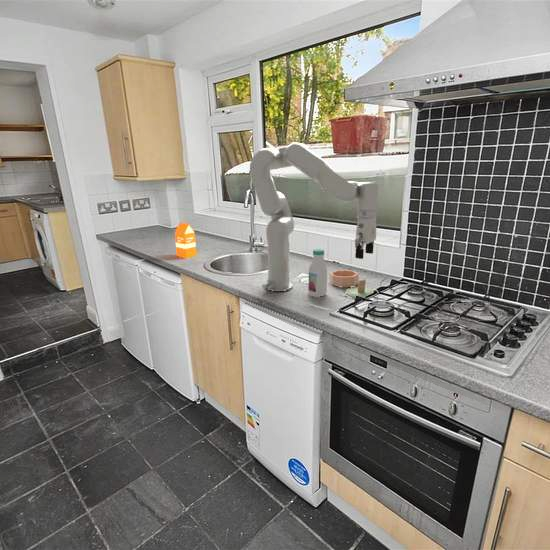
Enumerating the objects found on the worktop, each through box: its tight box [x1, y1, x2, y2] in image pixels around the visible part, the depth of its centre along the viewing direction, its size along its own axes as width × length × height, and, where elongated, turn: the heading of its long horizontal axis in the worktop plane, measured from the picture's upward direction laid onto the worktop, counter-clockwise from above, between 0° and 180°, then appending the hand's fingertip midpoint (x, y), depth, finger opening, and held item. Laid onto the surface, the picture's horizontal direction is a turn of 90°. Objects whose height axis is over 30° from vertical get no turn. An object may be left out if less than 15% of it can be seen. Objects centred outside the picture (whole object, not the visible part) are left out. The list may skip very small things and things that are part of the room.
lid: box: [345, 278, 375, 298], centre depth 153 cm, size 13×13×6 cm
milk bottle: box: [307, 248, 328, 298], centre depth 151 cm, size 8×8×20 cm
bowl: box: [329, 269, 360, 288], centre depth 166 cm, size 12×12×5 cm
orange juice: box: [174, 222, 197, 259], centre depth 213 cm, size 8×9×20 cm
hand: (364, 255), depth 149 cm, fingers open, 9 cm apart
